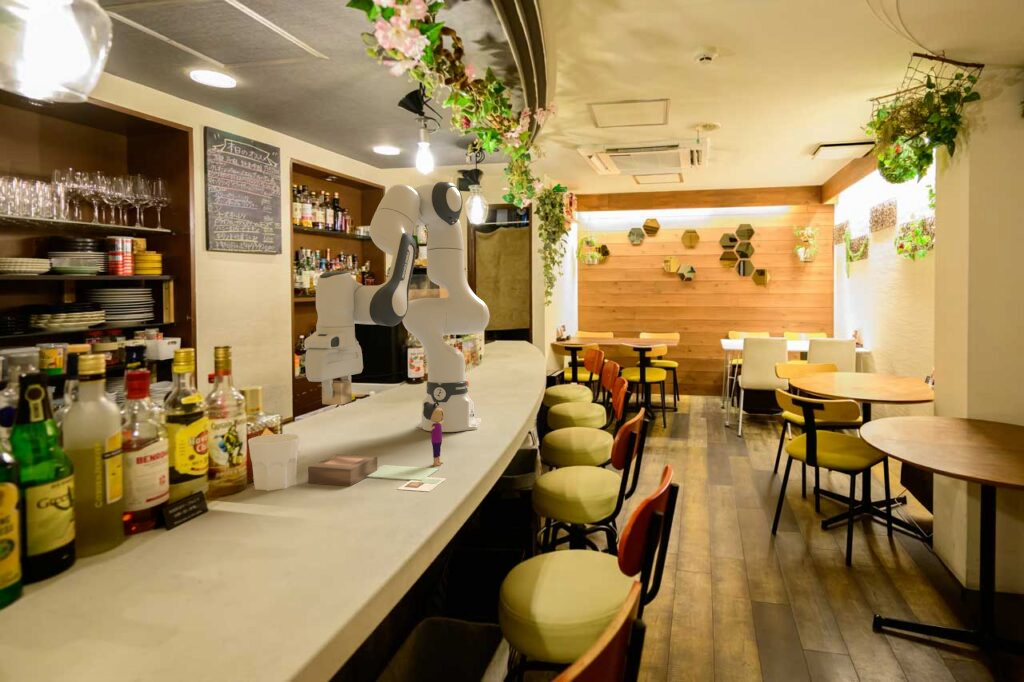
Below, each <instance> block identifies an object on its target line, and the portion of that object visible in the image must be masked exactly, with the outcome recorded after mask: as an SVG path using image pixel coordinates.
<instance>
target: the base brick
mask: <svg viewBox="0 0 1024 682" xmlns="http://www.w3.org/2000/svg"><path fill="white" fill-rule="evenodd" d="M377 468H378V456H376V455H375V456H374V455H357V454H355V455H354V454H341V453H340V454H339V453H337V454H335V455H333V456H330V457H328V458H325V459H323V460H321V461H319V462H317V463H313V464H311V465H309V466H308V467H307V470H308V471H307V474H308V481H307V482H308V484H317V485H332V486H345V487H347V486H348V487H352V486H353V485H356V484H358V483H359V482H361V481H363V480H365V479H366V478H368V477H367V476H368V475H370V474H372V473H374V472H375V471H377Z"/></svg>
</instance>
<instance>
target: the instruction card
mask: <svg viewBox="0 0 1024 682" xmlns="http://www.w3.org/2000/svg"><path fill="white" fill-rule="evenodd" d="M446 480H447V478H446V477H445V478H444V477H442V478H441V477H432V476H429V477H427V478H425V479H423V480H420V481H419V480H408V482H406V483H404V484H402V485H401V486H399V487H398V488H397V490H398V491H399V490H400V491H401V490H402V491H413V492H414V491H416V492H428V493H429V492H431V491H432V490H433V489H435V488H436V487H438V486H439V485H440V484H441V483H443V482H444V481H446Z"/></svg>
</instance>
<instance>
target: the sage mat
mask: <svg viewBox="0 0 1024 682" xmlns="http://www.w3.org/2000/svg"><path fill="white" fill-rule="evenodd" d="M439 470H440V468H435V467H421V466H406V465H405V466H404V465H388V464H382V465H381V466H379V467H377V471H375V472H374V473H372V474H370V475H368V476H367V478H370V479H371V478H372V479H384V480H397V481H398V480H401V481H410V480H419V481H420V480H423V479H425V478H427V477H431V476H432V475H434V473H436V472H438V471H439Z"/></svg>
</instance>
